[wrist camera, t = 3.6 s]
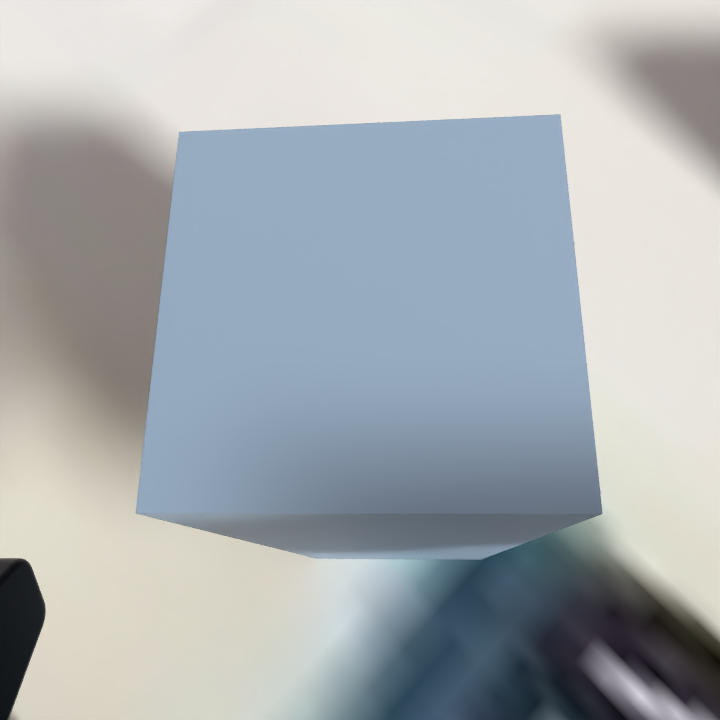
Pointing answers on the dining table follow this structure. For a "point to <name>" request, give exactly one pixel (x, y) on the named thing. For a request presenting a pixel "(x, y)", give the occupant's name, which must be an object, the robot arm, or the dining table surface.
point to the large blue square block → (372, 341)
